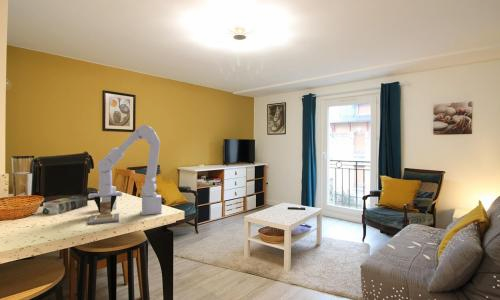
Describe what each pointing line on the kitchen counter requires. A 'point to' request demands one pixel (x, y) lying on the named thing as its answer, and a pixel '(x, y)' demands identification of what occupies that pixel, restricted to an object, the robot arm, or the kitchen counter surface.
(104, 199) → the skincare box
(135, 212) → the kitchen counter surface
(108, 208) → the tan wooden block
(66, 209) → the juice carton
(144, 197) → the robot arm
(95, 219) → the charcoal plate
